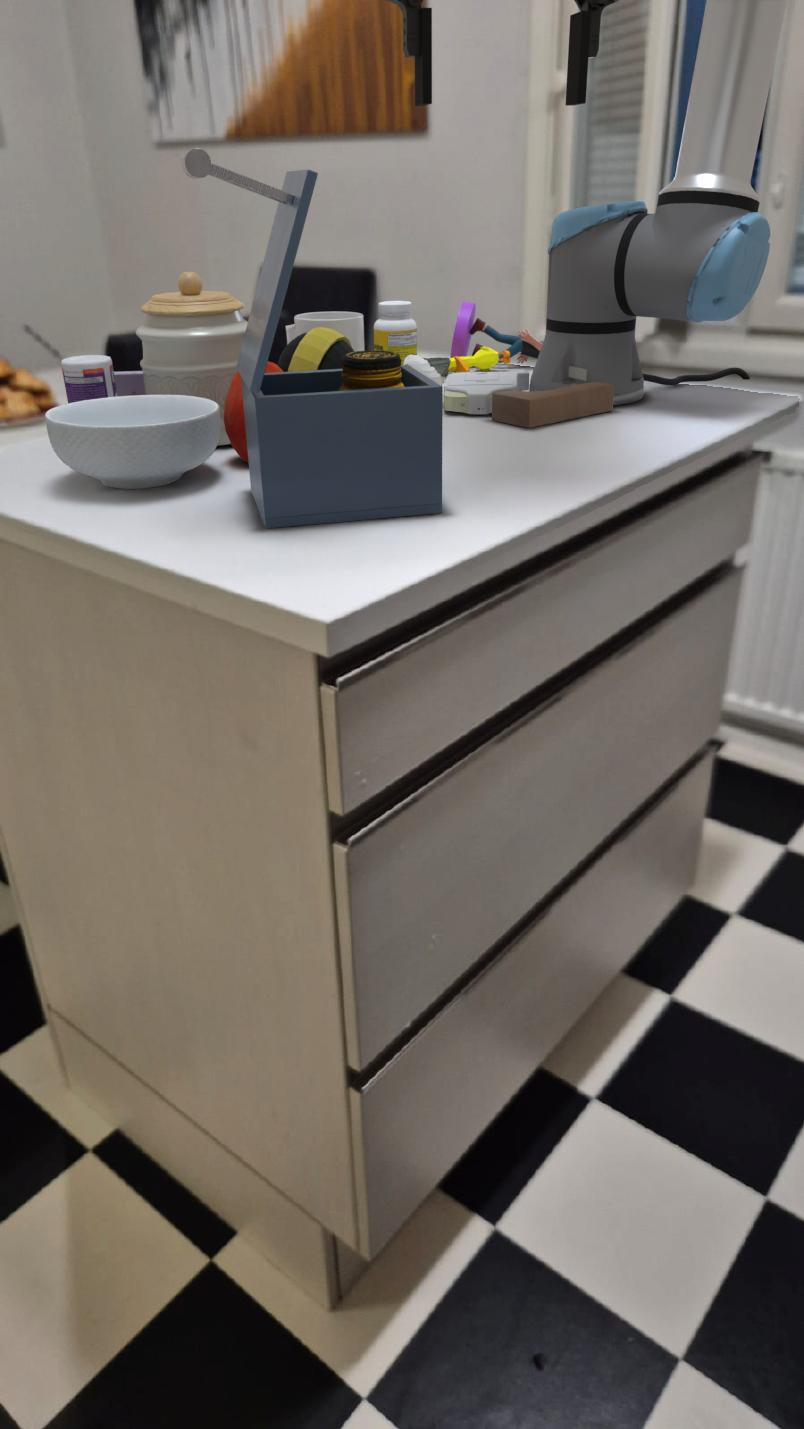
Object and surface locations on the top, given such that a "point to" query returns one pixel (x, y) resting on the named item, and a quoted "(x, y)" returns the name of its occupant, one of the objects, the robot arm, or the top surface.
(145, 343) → the jar
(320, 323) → the mug
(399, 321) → the pill bottle
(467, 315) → the figurine
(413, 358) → the pincushion
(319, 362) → the bomb
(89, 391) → the pill bottle
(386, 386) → the condiment
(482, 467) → the top surface
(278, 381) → the blue-grey open box
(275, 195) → the lid
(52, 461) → the top surface
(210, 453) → the cereal bowl
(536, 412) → the wooden block
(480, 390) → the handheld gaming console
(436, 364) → the grey piece
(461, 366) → the toy figure
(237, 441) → the apple
